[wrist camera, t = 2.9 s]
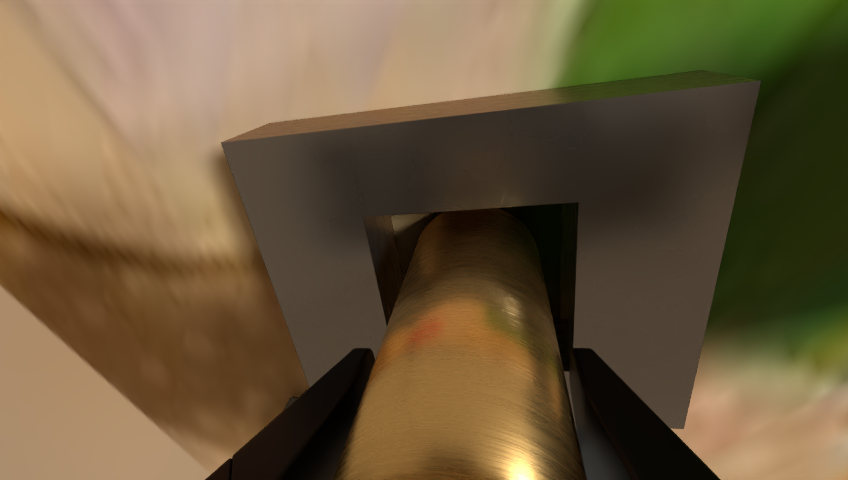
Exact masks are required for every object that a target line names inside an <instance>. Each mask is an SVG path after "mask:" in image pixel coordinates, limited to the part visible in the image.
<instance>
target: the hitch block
mask: <svg viewBox="0 0 848 480" xmlns="http://www.w3.org/2000/svg"><path fill="white" fill-rule="evenodd" d="M760 84H761V81H760V80H755V79H749V78H743V77H737V76H732V75H726V74H720V73H714V72H708V71H703V70H701V71H692V72H684V73H676V74H668V75H660V76H652V77H643V78H635V79H627V80H619V81H611V82H603V83H594V84H586V85H578V86H570V87H562V88H553V89H545V90H537V91H529V92H521V93H513V94H504V95H496V96H488V97H480V98H472V99H464V100H455V101H447V102H439V103H431V104H423V105H414V106H406V107H398V108H390V109H382V110H374V111H365V112H357V113H349V114H341V115H333V116H325V117H316V118H308V119H300V120H292V121H284V122H275V123H269V124H266V125H264V126H261V127H259V128H256V129H254V130H251V131H249V132H246V133H244V134H241V135H239V136H236V137H234V138H231V139H229V140H226V141H224V142H221V144H222V147H223V150H224V152H225V155H226V158H227V161H228V163H229V166H230V169H231V172H232V175H233V177H234V180H235V183H236V186H237V188H238V191H239V194H240V197H241V199H242V202H243V205H244V208H245V211H246V213H247V216H248V219H249V222H250V224H251V227H252V230H253V233H254V235H255V238H256V241H257V244H258V247H259V249H260V252H261V255H262V258H263V260H264V263H265V266H266V269H267V271H268V274H269V277H270V280H271V283H272V285H273V288H274V291H275V294H276V296H277V299H278V302H279V305H280V307H281V310H282V313H283V316H284V319H285V321H286V324H287V327H288V330H289V332H290V335H291V338H292V341H293V343H294V346H295V349H296V352H297V355H298V357H299V360H300V363H301V366H302V368H303V371H304V374H305V377H306V380H307V382H308V385H309V388H310V387H311V386H312V385H313V384H314V383H315V382H316V381H318V380H319V379H320V378H321V377H322V376H323V375H324V374H326V373H327V372H328V371H329V370H330V369H331V368H332V367H333V366H335V365H336V364H337V363H338V362H339V361H340V360H341V359H342V358H344V357H345V356H346V355H347V354H348V353H349V352H350V351H351V350H353V349H355V348H370V349H371V350H372V351H373V354H374V358H375V359H376V357H377V354H378V351H379V348H380V345H381V343H382V340H383V337H384V334H385V331H386V329H387V326H388V323H389V320H390V317H391V315H392V312H393V309H394V306H395V303H396V301H397V298H398V295H399V292H400V289H401V287H402V284H403V279H402V273H401V268H400V263H399V257H398V252H397V247H396V241H395V236H394V231H393V225H392V220H391V215H398V214H413V213H428V212H443V211H457V210H472V209H487V208H502V207H516V206H531V205H546V204H561V203H562V218H561V273H560V319H553V323H554V328H555V333H556V337H557V342H558V347H559V351H560V356H561V361H562V365H563V370H564V375H565V379H566V384H567V389H568V393H569V398H570V403H571V407H572V412H573V417H574V421H575V415H574V409H573V403H572V396H571V390H570V382H569V370H570V351H571V349H572V348H591V349H592V350H594V351H595V352H596V353H597V355H598V356H599V357H600V358H601V359H602V360H603V361H604V362H605V363H606V364H607V365H608V366H609V367H610V368H611V369H612V370H613V371H614V372H615V373H616V374H617V375H618V376H619V377H620V378H621V379H622V380H623V381H624V382H625V383H626V384H627V385H628V386H629V387H630V388H631V389H632V390H633V391H634V392H635V393H636V394H637V395H638V396H639V397H640V398H641V399H642V400H643V401H644V402H645V403H646V404H647V405H648V406H649V407H650V408H651V409H652V410H653V411H654V412H655V413H656V415H657V416H658V417H659V418H660V419H661V420H662V421H663V422H664V423H665V424H666V425H667V426H668V427H669V428H675V429H684V425H685V421H686V416H687V412H688V407H689V403H690V398H691V394H692V389H693V385H694V381H695V376H696V372H697V367H698V363H699V358H700V354H701V349H702V345H703V340H704V336H705V331H706V327H707V322H708V318H709V313H710V309H711V304H712V300H713V295H714V291H715V286H716V282H717V277H718V273H719V268H720V264H721V259H722V255H723V250H724V246H725V241H726V237H727V232H728V228H729V223H730V219H731V214H732V210H733V205H734V201H735V196H736V192H737V187H738V183H739V178H740V174H741V169H742V165H743V160H744V156H745V151H746V147H747V142H748V138H749V133H750V129H751V124H752V120H753V115H754V111H755V106H756V102H757V97H758V93H759V88H760ZM575 425H576V422H575Z"/></svg>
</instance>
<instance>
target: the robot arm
mask: <svg viewBox="0 0 848 480" xmlns="http://www.w3.org/2000/svg"><path fill="white" fill-rule="evenodd" d="M374 362H375V358H374V354H373V351H372V350H371V349H370V348H355V349H353V350H351V351H350V352H349V353H348V354H347V355H346V356H345V357H344V358H342V359H341V360H340V361H339V362H338V363H337V364H336V365H335V366H333V367H332V368H331V369H330V370H329V371H328V372H327V373H326V374H324V375H323V376H322V377H321V378H320V379H319V380H318V381H316V382H315V383H314V384H313V385H312V386H311V387H310V388H309V389H307V390H306V391H305V392H304V393H303V394H302V395H301V396H300V397H298V398H297V399H296V400H295V401H294V402H293V403H292V404H290V405H289V406H288V407H287V408H286V409H285V410H284V411H283V412H281V413H280V414H279V415H278V416H277V417H276V418H275V419H274V420H272V421H271V422H270V423H269V424H268V425H267V426H266V427H265V428H263V429H262V430H261V431H260V432H259V433H258V434H257V435H255V436H254V437H253V438H252V439H251V440H250V441H249V442H248V443H246V444H245V445H244V446H243V447H242V448H241V449H240V450H239V451H237V452H236V453H235V454H234V455H233V457H232V459H231V458H230V459H228V460H227V461H226V462H225V463H224V464H223V465H221V466H220V467H219V468H218V469H217V470H216V471H215V472H214V473H212V474H211V475H210V476H209V477H208V478H206V479H205V480H332V479H333V477H334V474H335V471H336V468H337V466H338V463H339V460H340V457H341V454H342V452H343V449H344V446H345V443H346V440H347V438H348V435H349V432H350V429H351V426H352V424H353V421H354V418H355V415H356V412H357V410H358V407H359V404H360V401H361V398H362V396H363V393H364V390H365V387H366V384H367V382H368V379H369V376H370V373H371V370H372V368H373V365H374ZM569 382H570V390H571V396H572V403H573V409H574V415H575V422H576V428H577V435H578V440H579V445H580V450H581V454H582V459H583V464H584V468H585V473H586V477H587V480H720V479H719V478H718V477H717V476H716V475H715V473H714V472H713V471H712V470H711V469H710V468H709V467H708V466H707V465H706V464H705V463H704V462H703V461H702V460H701V459H700V458H699V457H698V456H697V455H696V454H695V453H694V452H693V451H692V450H691V449H690V448H689V447H688V446H687V445H686V444H685V443H684V442H683V441H682V440H681V439H680V438H679V437H678V436H677V435H676V434H675V433H674V432H673V431H672V430H671V429H670V428H669V427H668V426H667V425H666V424H665V423H664V422H663V421H662V420H661V419H660V418H659V417H658V416H657V415H656V413H655V412H654V411H653V410H652V409H651V408H650V407H649V406H648V405H647V404H646V403H645V402H644V401H643V400H642V399H641V398H640V397H639V396H638V395H637V394H636V393H635V392H634V391H633V390H632V389H631V388H630V387H629V386H628V385H627V384H626V383H625V382H624V381H623V380H622V379H621V378H620V377H619V376H618V375H617V374H616V373H615V372H614V371H613V370H612V369H611V368H610V367H609V366H608V365H607V364H606V363H605V362H604V361H603V360H602V359H601V358H600V357H599V356H598V355H597V353H596V352H595V351H594V350H592V349H591V348H572V349H571V351H570V370H569Z"/></svg>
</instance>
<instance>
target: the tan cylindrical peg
mask: <svg viewBox="0 0 848 480" xmlns="http://www.w3.org/2000/svg"><path fill="white" fill-rule="evenodd" d="M332 480H587V478H586V473H585V468H584V464H583V459H582V454H581V450H580V445H579V440H578V436H577V431H576V426H575V421H574V417H573V412H572V407H571V403H570V398H569V393H568V389H567V384H566V379H565V375H564V370H563V365H562V361H561V356H560V351H559V347H558V342H557V337H556V333H555V328H554V323H553V319H552V314H551V309H550V304H549V300H548V295H547V290H546V286H545V281H544V276H543V272H542V267H541V262H540V258H539V253H538V249H537V245H536V242H535V240H534V238H533V236H532V234H531V233H530V231H529V230H528V229H527V227H526V226H525V225H524V224H523V223H522V222H521V221H520V220H519V219H517V218H516V217H514V216H513V215H511V214H510V213H508V212H506V211H504V210H501V209H498V208H487V209H472V210H457V211H445V212H443V213H442V214H440V215H438V216H437V217H436V218H434V219H433V220H432V221H431V222H430V223H429V224H428V225H427V226H426V227H425V229H424V230H423V231H422V233H421V235H420V237H419V239H418V242H417V245H416V247H415V250H414V253H413V256H412V259H411V261H410V264H409V267H408V270H407V273H406V275H405V278H404V281H403V284H402V287H401V289H400V292H399V295H398V298H397V301H396V303H395V306H394V309H393V312H392V315H391V317H390V320H389V323H388V326H387V329H386V331H385V334H384V337H383V340H382V343H381V345H380V348H379V351H378V354H377V357H376V359H375V362H374V365H373V368H372V370H371V373H370V376H369V379H368V382H367V384H366V387H365V390H364V393H363V396H362V398H361V401H360V404H359V407H358V410H357V412H356V415H355V418H354V421H353V424H352V426H351V429H350V432H349V435H348V438H347V440H346V443H345V446H344V449H343V452H342V454H341V457H340V460H339V463H338V466H337V468H336V471H335V474H334V477H333V479H332Z"/></svg>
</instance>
